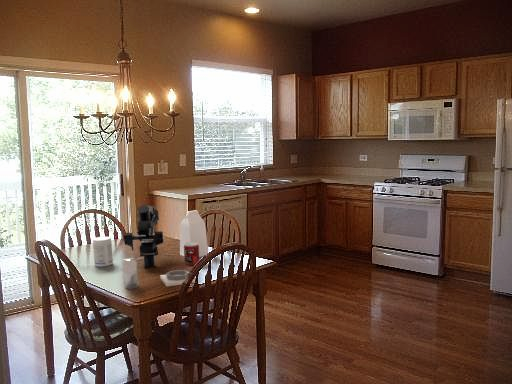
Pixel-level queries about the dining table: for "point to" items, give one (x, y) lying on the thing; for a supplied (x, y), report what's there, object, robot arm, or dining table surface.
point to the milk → (193, 232)
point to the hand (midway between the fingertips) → (142, 249)
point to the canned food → (191, 253)
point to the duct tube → (130, 273)
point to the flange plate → (168, 283)
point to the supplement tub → (102, 251)
